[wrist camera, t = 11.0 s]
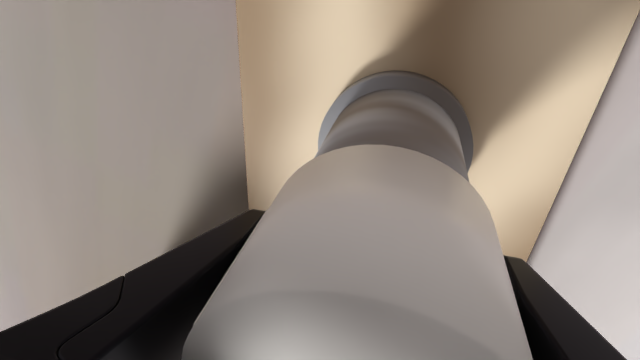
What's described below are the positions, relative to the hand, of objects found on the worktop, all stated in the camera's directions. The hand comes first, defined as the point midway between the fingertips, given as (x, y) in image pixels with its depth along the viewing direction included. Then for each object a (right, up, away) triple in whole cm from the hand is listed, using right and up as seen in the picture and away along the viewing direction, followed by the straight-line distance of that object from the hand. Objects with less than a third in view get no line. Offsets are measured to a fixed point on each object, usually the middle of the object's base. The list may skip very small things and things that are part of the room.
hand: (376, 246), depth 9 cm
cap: (0, 0, 0) cm, 0 cm away
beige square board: (+2, +3, +6) cm, 7 cm away
